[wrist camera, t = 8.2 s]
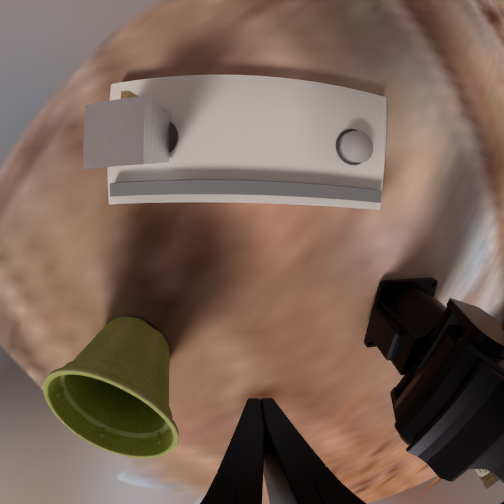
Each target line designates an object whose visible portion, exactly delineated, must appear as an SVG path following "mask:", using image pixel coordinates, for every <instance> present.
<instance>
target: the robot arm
mask: <svg viewBox="0 0 504 504" xmlns="http://www.w3.org/2000/svg"><path fill="white" fill-rule="evenodd" d="M432 283H433V284H432ZM385 285H386V287H385V288H384V286H385ZM436 287H437V280H436V279H434V278H420V279H399V280H383V281H382V282H381V283H380V284H379V287H378V292H377V296H376V300H375V304H374V307H373V309H372V313H371V317H370V320H369V324H368V328H367V333H366V337H365V340H364V344H365V345H366V347H375V346H377V347H378V348H379V350H380V351H381V353H382V354H383V356H384V357H385V358H386V360H391V361H392V363H393V364H394V366H395V367H396V369H397V370H398V372H399V373H400V374H401V375H404V377H403V378H402V379H401V381H400V382H399V383H398V385H397V386H396V387H394V388H393V390H392V391H391V392H390V394H391V399H392V404H393V409H394V415H395V420H396V423H395V428H396V430H397V432H398V433H399V435H400V437H401V438H402V440H403V441H404V442H405V443H406V444H407V445H409V446H408V447H407V448H406V450H407V452H409V453H411V454H413V455H415V456H418V457H419V458H420V459H422V460H423V461H424V462H426V463H427V464H428V465H429V466H430V467H431V468H432V469H433V471H434V472H435V473H436V474H437V475H438V476H439V477H440V478H442V479H445V480H448V481H454V480H456V479H457V478H458V477H459V476H461V475H462V474H463V473H464V472H465V471H467V470H468V469H486V470H488V471H489V472H491V473H492V474H493V475H494V476H496V477H497V478H498V479H499V480H501V481H502V482H503V483H504V331H503V329H502V328H501V326H500V325H499V323H498V321H497V320H496V319H494V318H493V317H492V316H490V315H489V314H487V313H486V312H484V311H483V310H482V309H480V308H479V307H476V306H473V305H470V304H467V303H464V302H461V301H458V300H455V299H452V298H450V299H449V301H448V303H447V308H446V307H445V306H444V305H443V304H442V303H441V302H439V301H438V300H437V299H436V298H434V294H435V290H436ZM325 466H326V465H325V464H324V463H323V461H322V460H321V459H320V458H319V457H318V455H317V454H316V453H315V452H314V451H313V449H312V448H311V447H310V446H309V445H308V443H307V442H306V441H305V440H304V438H303V437H302V436H301V435H300V433H299V432H298V431H297V429H296V428H295V427H294V426H293V424H292V423H291V422H290V420H289V419H288V418H287V417H286V415H285V414H284V413H283V411H282V410H281V409H280V407H279V406H278V405H277V403H276V402H275V401H274V399H272V398H261V399H259V398H249V399H248V400H247V402H246V405H245V407H244V410H243V412H242V415H241V417H240V420H239V422H238V425H237V427H236V430H235V432H234V434H233V437H232V439H231V441H230V444H229V446H228V449H227V451H226V453H225V456H224V458H223V460H222V462H221V465H220V467H219V469H218V471H217V474H216V476H215V478H214V480H213V482H212V484H211V486H210V488H209V490H208V492H207V494H206V495H205V497H204V499H203V500H202V502H201V503H200V504H262V488H263V472H264V477H265V481H266V486H267V491H268V496H269V500H270V504H366V503H365V502H363V501H362V500H361V499H360V498H358V497H357V496H356V495H355V494H354V493H352V492H351V491H350V490H349V489H348V488H347V487H346V486H344V485H343V484H342V483H341V482H340V481H339V480H338V479H337V477H336V476H335V475H334V474H333V473H332V472H331V471H330V470H329V468H328V467H325ZM500 504H504V501H503V502H502V503H500Z"/></svg>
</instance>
